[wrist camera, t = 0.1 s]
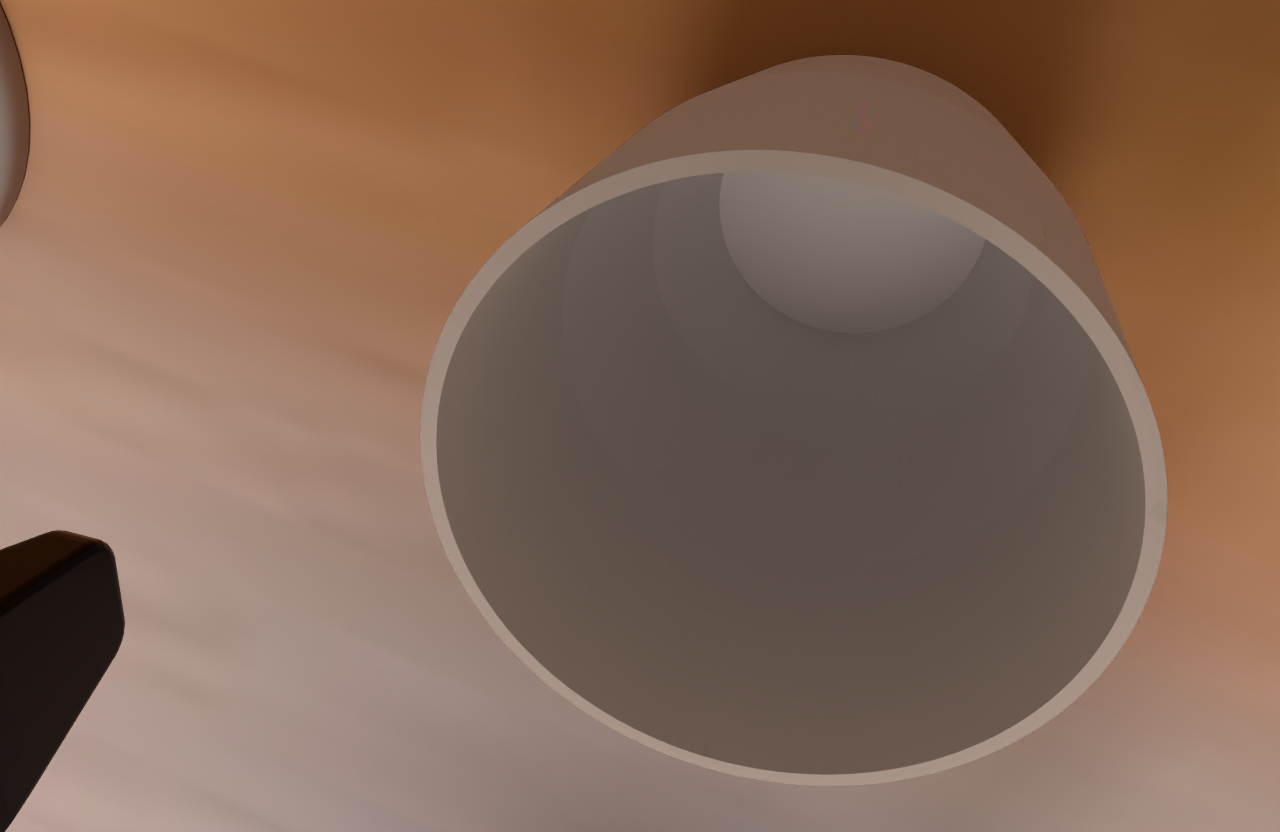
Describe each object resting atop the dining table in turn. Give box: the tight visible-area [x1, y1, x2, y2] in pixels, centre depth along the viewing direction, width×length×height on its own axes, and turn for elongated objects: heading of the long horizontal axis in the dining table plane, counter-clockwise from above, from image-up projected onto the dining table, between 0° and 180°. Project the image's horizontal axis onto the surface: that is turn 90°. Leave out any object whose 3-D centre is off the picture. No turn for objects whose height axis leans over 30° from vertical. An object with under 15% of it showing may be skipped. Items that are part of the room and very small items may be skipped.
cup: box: [420, 55, 1167, 786], centre depth 17 cm, size 8×8×10 cm
